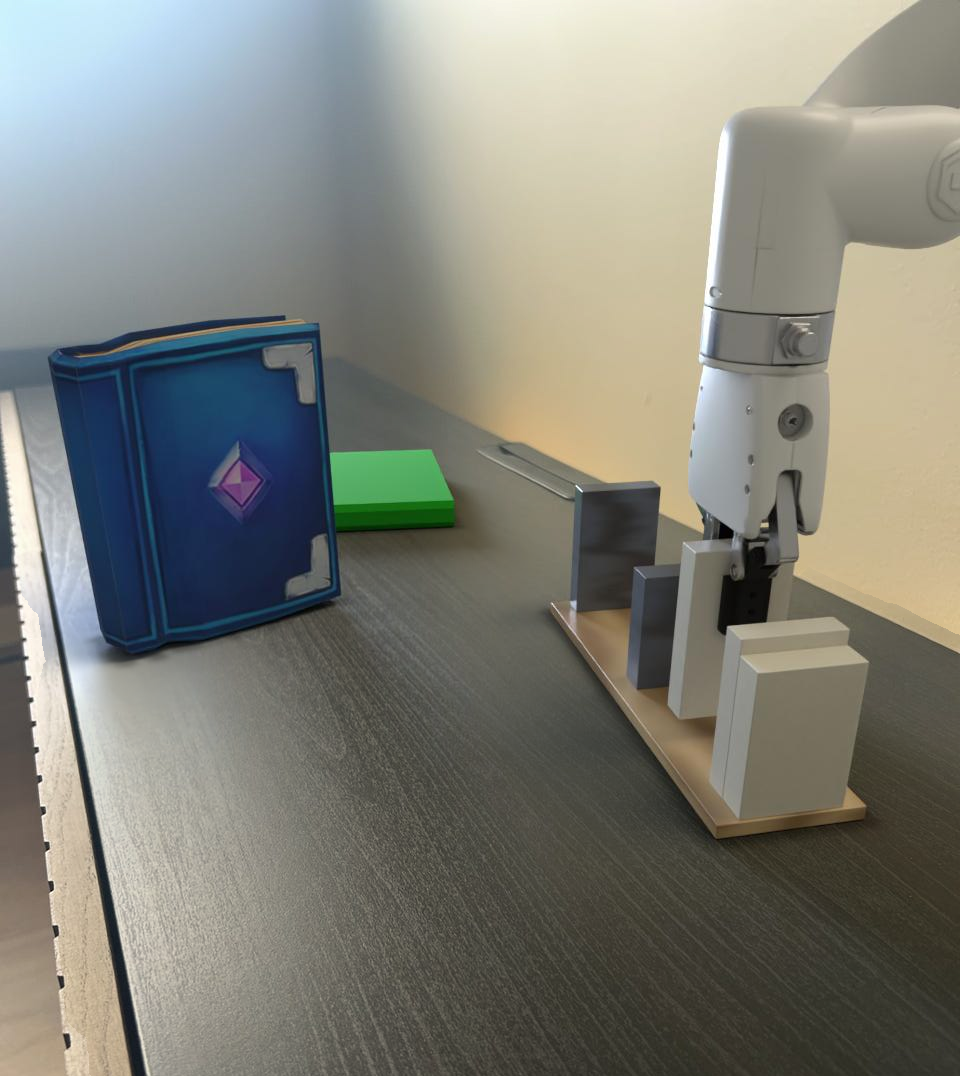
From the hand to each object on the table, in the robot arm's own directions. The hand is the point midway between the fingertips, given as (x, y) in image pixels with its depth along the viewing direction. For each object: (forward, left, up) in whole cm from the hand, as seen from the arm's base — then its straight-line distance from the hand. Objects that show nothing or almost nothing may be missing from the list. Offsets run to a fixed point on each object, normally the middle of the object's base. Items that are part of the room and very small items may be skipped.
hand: (731, 620), depth 70 cm
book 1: (+34, -29, -10) cm, 46 cm away
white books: (0, +8, -8) cm, 12 cm away
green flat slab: (+22, -62, -10) cm, 66 cm away
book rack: (0, -7, -9) cm, 12 cm away
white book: (0, 0, -7) cm, 7 cm away
